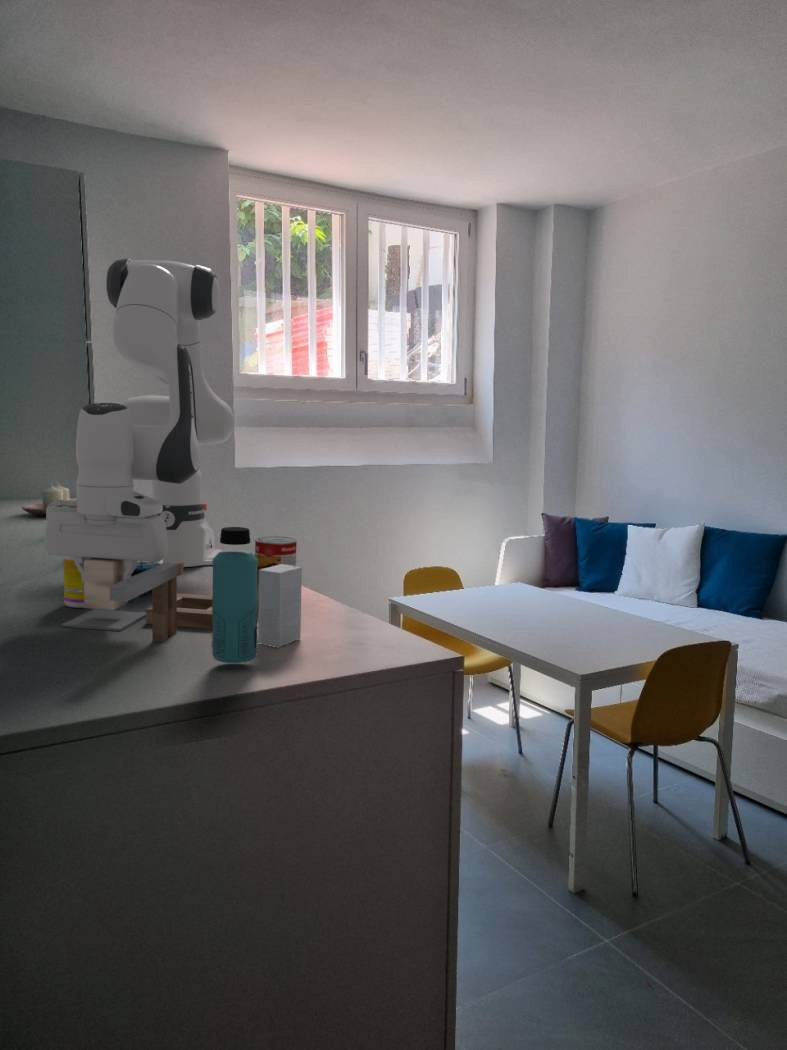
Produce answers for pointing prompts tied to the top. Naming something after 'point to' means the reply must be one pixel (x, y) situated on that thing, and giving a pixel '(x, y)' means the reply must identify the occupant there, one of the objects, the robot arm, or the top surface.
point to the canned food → (274, 553)
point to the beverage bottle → (234, 600)
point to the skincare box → (279, 605)
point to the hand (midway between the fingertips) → (106, 584)
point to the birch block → (101, 582)
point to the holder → (176, 611)
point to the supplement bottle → (72, 584)
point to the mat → (105, 620)
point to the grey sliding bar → (145, 581)
